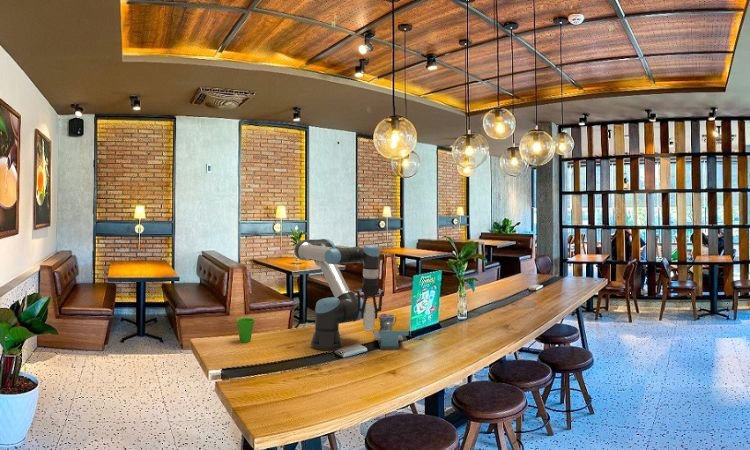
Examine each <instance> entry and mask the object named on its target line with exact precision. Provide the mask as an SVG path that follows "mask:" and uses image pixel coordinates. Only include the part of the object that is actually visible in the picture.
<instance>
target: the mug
mask: <svg viewBox="0 0 750 450" xmlns="http://www.w3.org/2000/svg"><path fill="white" fill-rule="evenodd" d="M377 318H378V320H379V330H384V322H392V327H394V326H395V324H396V322H397V317H396V316H395V315H394V314H392V313H380V314H377ZM392 330H393V328H392Z"/></svg>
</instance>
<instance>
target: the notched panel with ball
mask: <svg viewBox="0 0 750 450" xmlns="http://www.w3.org/2000/svg"><path fill="white" fill-rule="evenodd" d="M392 325H393V324H392V322H384V330H380V329H379V330H376V329H375V330H374V329H373V331H372V334H373V336H374V340H375V341H377V342H378V345H379V350H383V351H384V350H386V351H387V350H388V351H390V350H391V351H392V350H394V351H399V349H400V346H399V341H404V337H403V336H410V335H409V334H410V331H409V330H406V329H405V330H403V329H402V330H401V329H400V330H399V329H398V330H392V329H393V326H392Z"/></svg>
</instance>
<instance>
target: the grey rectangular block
mask: <svg viewBox="0 0 750 450" xmlns="http://www.w3.org/2000/svg"><path fill="white" fill-rule="evenodd" d="M374 311H375V309H374V303H372V304H371V303H366V305H365V326H363V328H364V331H365V332H367V331H368V332H369V331H370V332H373V330H374V326H373V320H374Z"/></svg>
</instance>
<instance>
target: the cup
mask: <svg viewBox="0 0 750 450" xmlns="http://www.w3.org/2000/svg"><path fill="white" fill-rule="evenodd" d="M255 321H256V319H255V318H254V317H242V318H241V317H239V318H237V319H236V324H237V331H238V337H239V342H240V343H242V344H246V343H250V342H251V340H252V335H253V329H254V323H255Z"/></svg>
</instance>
